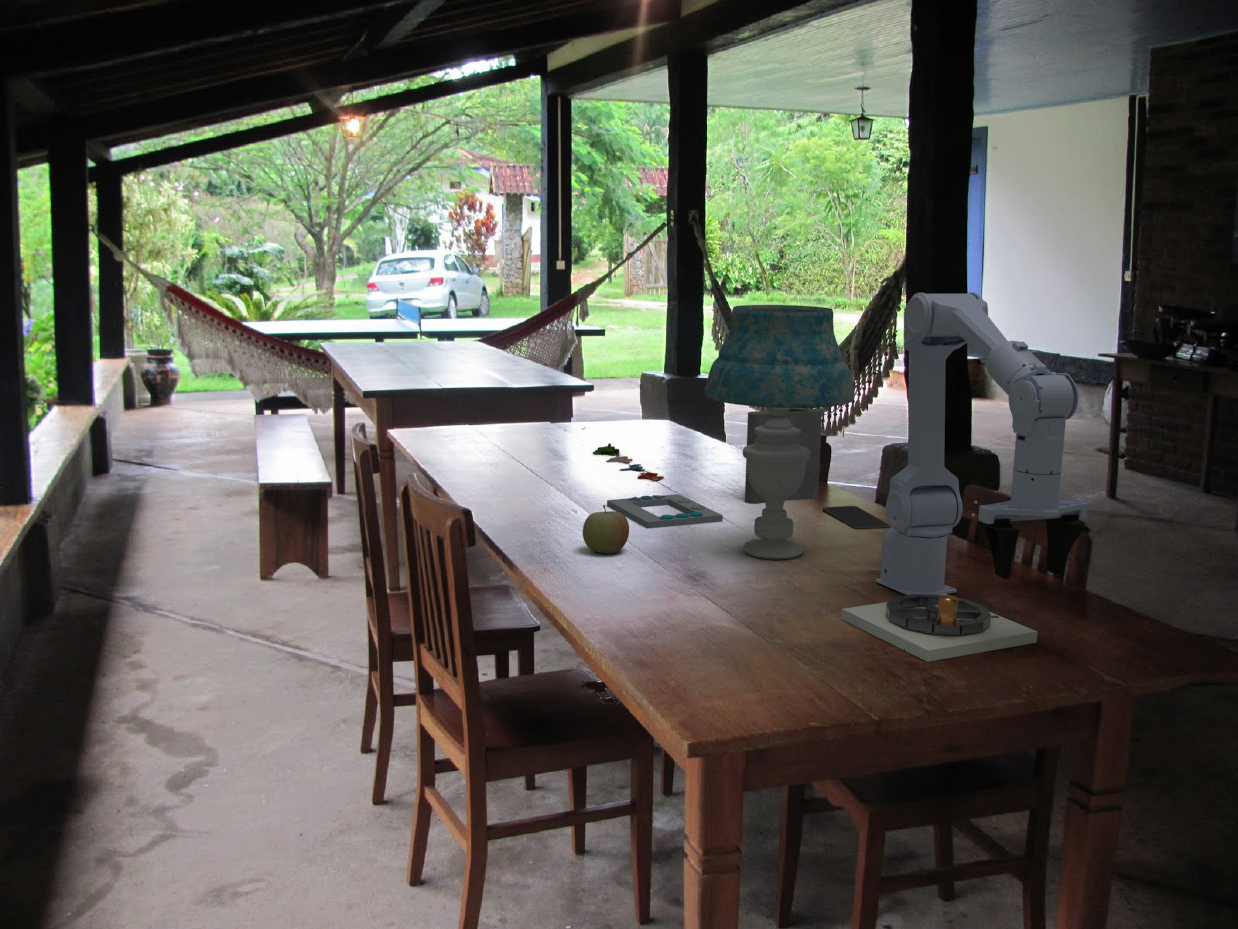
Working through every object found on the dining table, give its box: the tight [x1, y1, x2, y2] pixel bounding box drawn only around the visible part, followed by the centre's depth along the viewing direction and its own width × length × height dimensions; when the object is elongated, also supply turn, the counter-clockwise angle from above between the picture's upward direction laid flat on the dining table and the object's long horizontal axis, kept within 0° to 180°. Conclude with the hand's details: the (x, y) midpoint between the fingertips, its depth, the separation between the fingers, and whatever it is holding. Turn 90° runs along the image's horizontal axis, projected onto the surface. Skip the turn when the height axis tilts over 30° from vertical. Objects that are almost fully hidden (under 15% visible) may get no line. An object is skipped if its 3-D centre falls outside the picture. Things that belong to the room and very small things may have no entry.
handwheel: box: [886, 594, 991, 635], centre depth 164 cm, size 14×13×5 cm
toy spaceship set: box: [592, 442, 665, 481], centre depth 271 cm, size 35×6×3 cm, turn 20°
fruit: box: [582, 504, 630, 554], centre depth 201 cm, size 8×7×8 cm
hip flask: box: [744, 408, 823, 505], centre depth 239 cm, size 16×4×20 cm, turn 112°
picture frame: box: [606, 493, 724, 530], centre depth 228 cm, size 18×2×15 cm
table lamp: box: [704, 304, 856, 561], centre depth 198 cm, size 24×24×40 cm
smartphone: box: [822, 505, 891, 530], centre depth 226 cm, size 7×1×15 cm
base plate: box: [841, 594, 1038, 663], centre depth 165 cm, size 18×18×2 cm
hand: (1028, 574), depth 157 cm, fingers open, 7 cm apart
